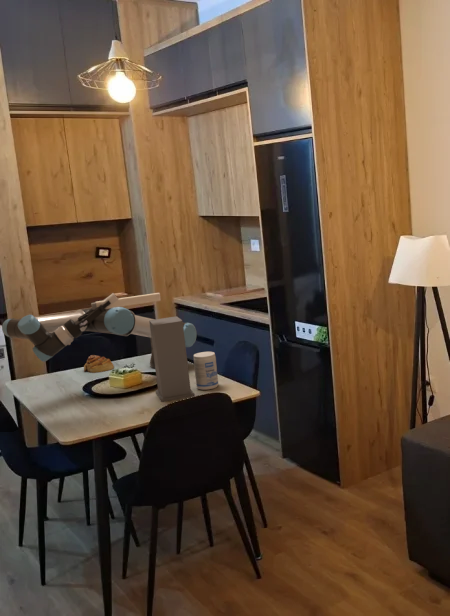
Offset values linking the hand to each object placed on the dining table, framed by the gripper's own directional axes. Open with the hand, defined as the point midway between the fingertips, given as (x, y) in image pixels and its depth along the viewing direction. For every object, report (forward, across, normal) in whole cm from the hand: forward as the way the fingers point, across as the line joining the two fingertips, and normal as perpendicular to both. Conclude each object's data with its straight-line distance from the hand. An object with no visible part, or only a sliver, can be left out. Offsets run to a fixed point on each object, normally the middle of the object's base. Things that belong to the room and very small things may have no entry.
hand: (115, 296), depth 262 cm
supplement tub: (+7, -2, -56) cm, 57 cm away
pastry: (-30, -66, -35) cm, 80 cm away
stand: (-6, 0, -48) cm, 49 cm away
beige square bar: (+2, 0, -6) cm, 6 cm away
